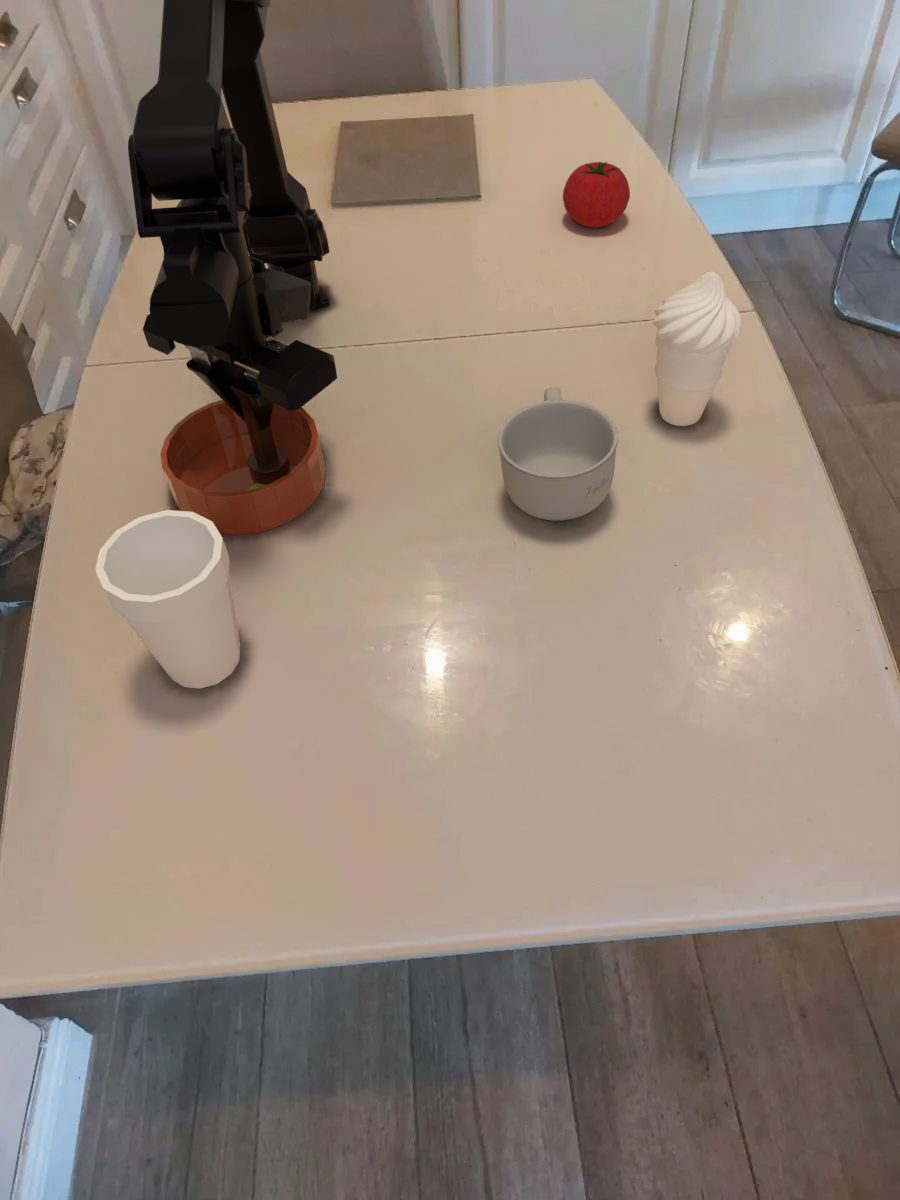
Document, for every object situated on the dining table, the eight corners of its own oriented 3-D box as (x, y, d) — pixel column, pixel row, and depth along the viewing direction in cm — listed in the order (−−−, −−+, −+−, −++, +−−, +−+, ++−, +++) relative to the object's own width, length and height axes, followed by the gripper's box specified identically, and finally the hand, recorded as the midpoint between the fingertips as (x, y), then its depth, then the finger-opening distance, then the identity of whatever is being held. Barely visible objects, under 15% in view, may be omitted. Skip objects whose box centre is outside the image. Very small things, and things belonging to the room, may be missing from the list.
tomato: (637, 214, 124) (644, 154, 118) (609, 243, 119) (614, 183, 113) (580, 200, 127) (583, 141, 121) (549, 228, 123) (552, 168, 116)
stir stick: (242, 474, 92) (218, 393, 84) (269, 451, 94) (247, 371, 86) (271, 488, 90) (249, 408, 83) (298, 465, 92) (278, 385, 85)
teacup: (605, 543, 84) (612, 479, 78) (489, 530, 86) (488, 466, 80) (617, 446, 93) (625, 381, 87) (513, 437, 95) (513, 372, 89)
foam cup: (156, 620, 81) (107, 515, 71) (260, 610, 81) (226, 504, 71) (142, 709, 75) (86, 608, 65) (254, 698, 75) (216, 595, 65)
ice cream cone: (671, 449, 92) (696, 308, 80) (624, 405, 97) (640, 266, 85) (737, 422, 95) (771, 281, 82) (687, 380, 100) (713, 242, 87)
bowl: (159, 460, 95) (145, 422, 91) (298, 417, 99) (290, 378, 95) (195, 555, 86) (180, 517, 82) (346, 503, 89) (339, 464, 86)
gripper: (365, 261, 76) (385, 411, 88) (208, 206, 83) (245, 351, 95) (275, 327, 70) (309, 477, 82) (115, 261, 78) (167, 408, 90)
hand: (257, 423), depth 87 cm, fingers closed on stir stick, 2 cm apart
